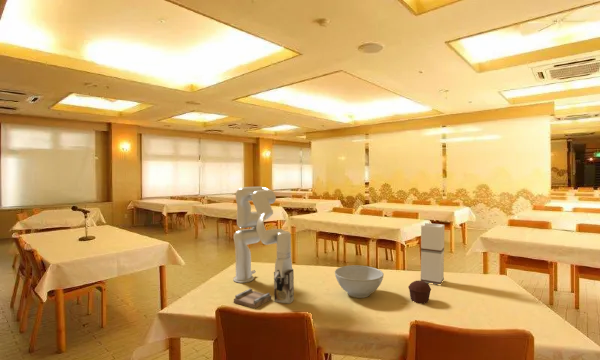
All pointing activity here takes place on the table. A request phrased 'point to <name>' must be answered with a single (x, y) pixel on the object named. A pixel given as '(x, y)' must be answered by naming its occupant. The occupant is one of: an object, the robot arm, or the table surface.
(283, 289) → the coffee box
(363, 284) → the decorative bowl
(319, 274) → the table surface
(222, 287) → the table surface
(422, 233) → the mini fridge
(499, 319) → the table surface
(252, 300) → the stand
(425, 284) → the muffin
